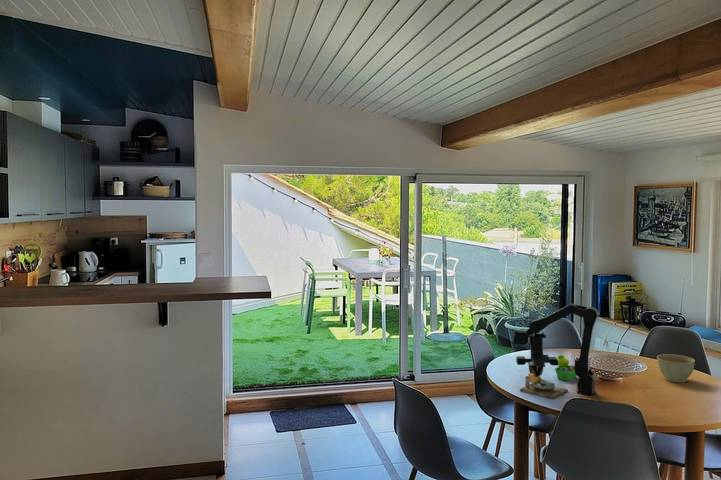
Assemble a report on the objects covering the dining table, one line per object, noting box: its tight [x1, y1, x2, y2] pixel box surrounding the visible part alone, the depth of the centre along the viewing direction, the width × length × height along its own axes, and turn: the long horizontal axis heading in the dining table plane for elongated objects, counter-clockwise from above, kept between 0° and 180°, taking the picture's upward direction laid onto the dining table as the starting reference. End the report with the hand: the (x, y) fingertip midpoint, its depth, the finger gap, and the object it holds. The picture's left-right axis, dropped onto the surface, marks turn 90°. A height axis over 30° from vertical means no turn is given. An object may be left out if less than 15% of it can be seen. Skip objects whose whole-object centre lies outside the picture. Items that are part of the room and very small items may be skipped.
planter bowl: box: [656, 353, 696, 383], centre depth 263 cm, size 16×16×11 cm
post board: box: [519, 380, 569, 400], centre depth 248 cm, size 16×15×5 cm
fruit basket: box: [554, 354, 578, 381], centre depth 268 cm, size 11×9×11 cm
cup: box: [527, 363, 544, 377], centre depth 267 cm, size 8×7×8 cm
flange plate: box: [527, 372, 556, 390], centre depth 249 cm, size 14×10×3 cm
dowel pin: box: [524, 375, 530, 387], centre depth 251 cm, size 2×2×5 cm
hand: (537, 378), depth 255 cm, fingers closed
